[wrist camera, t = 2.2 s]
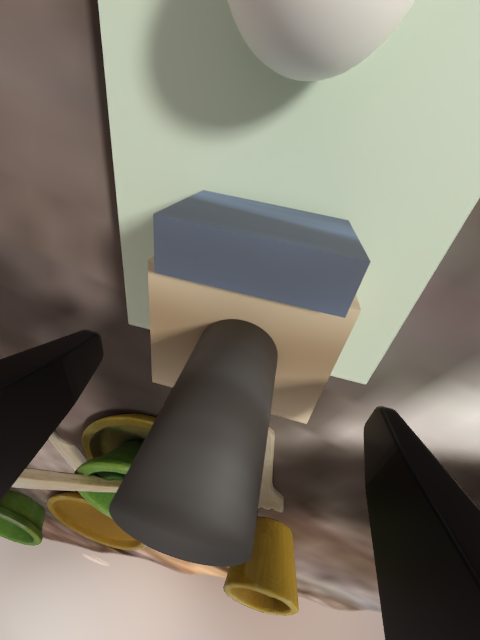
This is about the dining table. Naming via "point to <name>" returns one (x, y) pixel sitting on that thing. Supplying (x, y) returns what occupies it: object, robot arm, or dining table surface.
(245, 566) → the tableware set
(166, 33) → the pitch
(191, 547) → the sled
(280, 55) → the ball
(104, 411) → the dining table surface
